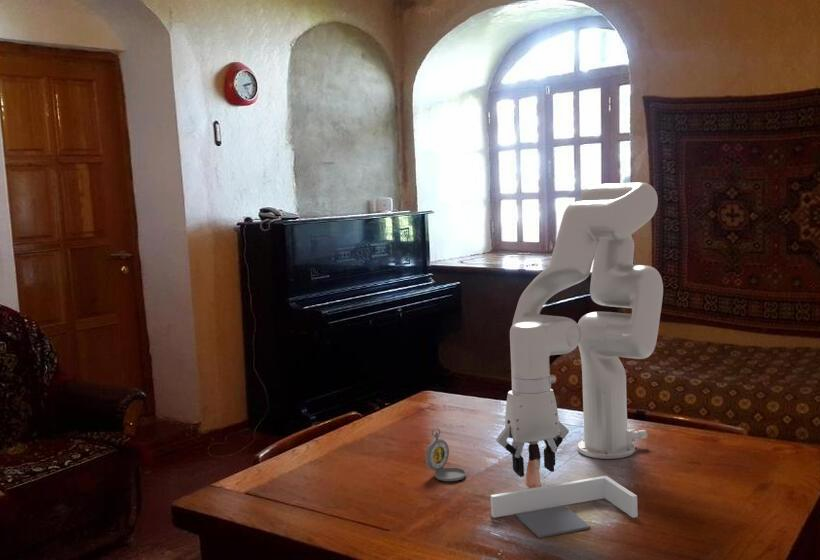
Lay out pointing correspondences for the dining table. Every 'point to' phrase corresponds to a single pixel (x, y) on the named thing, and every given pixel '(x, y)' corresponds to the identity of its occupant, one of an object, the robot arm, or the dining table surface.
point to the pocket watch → (442, 461)
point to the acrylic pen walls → (564, 496)
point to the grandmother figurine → (533, 466)
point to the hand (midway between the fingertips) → (534, 471)
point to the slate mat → (552, 521)
